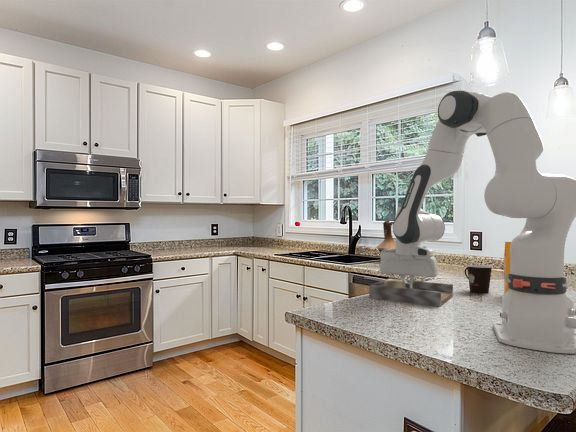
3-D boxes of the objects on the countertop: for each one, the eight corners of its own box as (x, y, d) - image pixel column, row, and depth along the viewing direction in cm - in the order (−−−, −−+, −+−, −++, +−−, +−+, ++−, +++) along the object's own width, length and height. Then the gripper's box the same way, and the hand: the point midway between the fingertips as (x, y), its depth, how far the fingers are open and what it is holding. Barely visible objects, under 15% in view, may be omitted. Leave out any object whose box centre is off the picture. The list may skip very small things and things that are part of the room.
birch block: (405, 291, 141) (405, 280, 141) (400, 293, 136) (400, 282, 136) (390, 289, 144) (390, 278, 144) (384, 291, 139) (384, 280, 139)
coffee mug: (495, 294, 143) (495, 267, 143) (470, 293, 144) (470, 267, 144) (485, 289, 154) (485, 264, 154) (462, 288, 156) (462, 263, 156)
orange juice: (535, 301, 131) (535, 243, 131) (506, 299, 135) (505, 242, 135) (531, 297, 138) (531, 241, 138) (503, 295, 142) (503, 241, 142)
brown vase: (371, 262, 257) (371, 220, 257) (395, 261, 260) (395, 220, 260) (382, 264, 240) (382, 220, 240) (407, 264, 243) (407, 220, 243)
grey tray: (452, 296, 138) (452, 284, 139) (440, 306, 122) (440, 292, 122) (388, 289, 152) (388, 278, 152) (369, 298, 135) (369, 285, 135)
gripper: (377, 248, 141) (377, 286, 141) (434, 251, 130) (434, 292, 130) (383, 247, 146) (383, 284, 146) (439, 250, 135) (439, 289, 135)
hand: (408, 288), depth 138 cm, fingers closed
